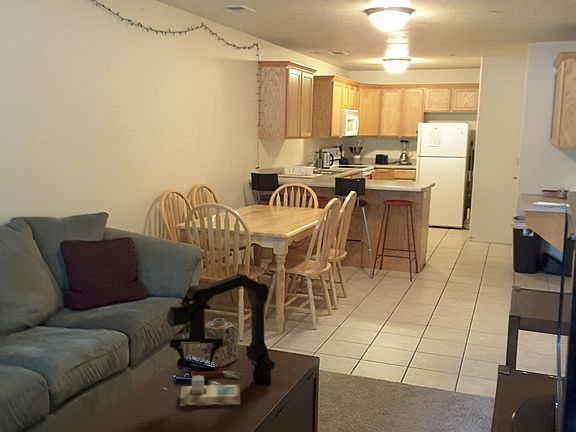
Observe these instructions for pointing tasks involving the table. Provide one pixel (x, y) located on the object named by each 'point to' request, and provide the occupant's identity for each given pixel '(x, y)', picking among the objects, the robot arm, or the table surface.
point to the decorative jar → (229, 347)
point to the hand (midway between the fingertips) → (197, 364)
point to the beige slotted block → (211, 395)
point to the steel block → (197, 385)
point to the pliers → (218, 373)
